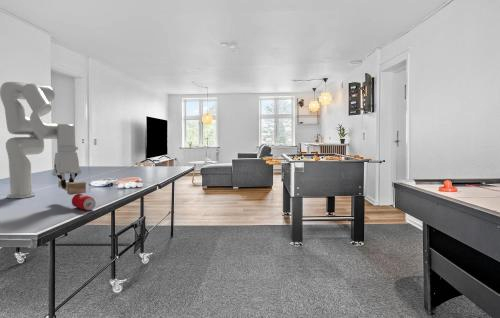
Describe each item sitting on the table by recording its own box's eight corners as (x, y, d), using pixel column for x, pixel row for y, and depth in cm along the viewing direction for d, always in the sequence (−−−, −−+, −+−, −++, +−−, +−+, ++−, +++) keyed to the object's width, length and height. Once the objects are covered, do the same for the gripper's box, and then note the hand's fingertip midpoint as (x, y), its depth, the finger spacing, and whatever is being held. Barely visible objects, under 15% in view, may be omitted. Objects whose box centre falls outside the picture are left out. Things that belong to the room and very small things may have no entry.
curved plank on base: (53, 187, 164) (53, 177, 163) (68, 186, 169) (68, 176, 169) (69, 194, 151) (69, 184, 150) (85, 192, 156) (85, 182, 156)
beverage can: (87, 202, 157) (99, 206, 150) (74, 209, 153) (86, 213, 146) (81, 191, 155) (93, 194, 147) (68, 198, 151) (80, 201, 143)
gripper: (80, 148, 168) (81, 184, 170) (44, 149, 156) (46, 188, 158) (87, 149, 164) (88, 186, 165) (50, 150, 151) (52, 190, 153)
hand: (67, 187), depth 161 cm, fingers closed on curved plank on base, 2 cm apart
